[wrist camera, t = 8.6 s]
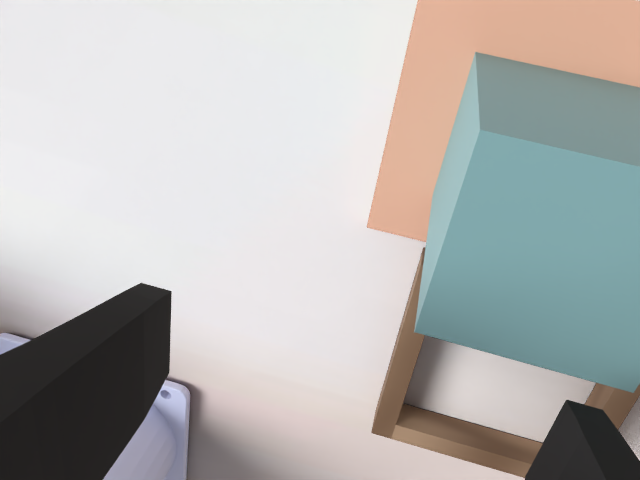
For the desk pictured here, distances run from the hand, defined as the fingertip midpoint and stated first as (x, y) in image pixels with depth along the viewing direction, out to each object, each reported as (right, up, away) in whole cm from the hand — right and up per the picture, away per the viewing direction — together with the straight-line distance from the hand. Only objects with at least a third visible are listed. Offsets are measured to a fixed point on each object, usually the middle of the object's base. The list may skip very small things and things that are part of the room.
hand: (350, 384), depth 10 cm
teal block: (+5, +5, +6) cm, 10 cm away
